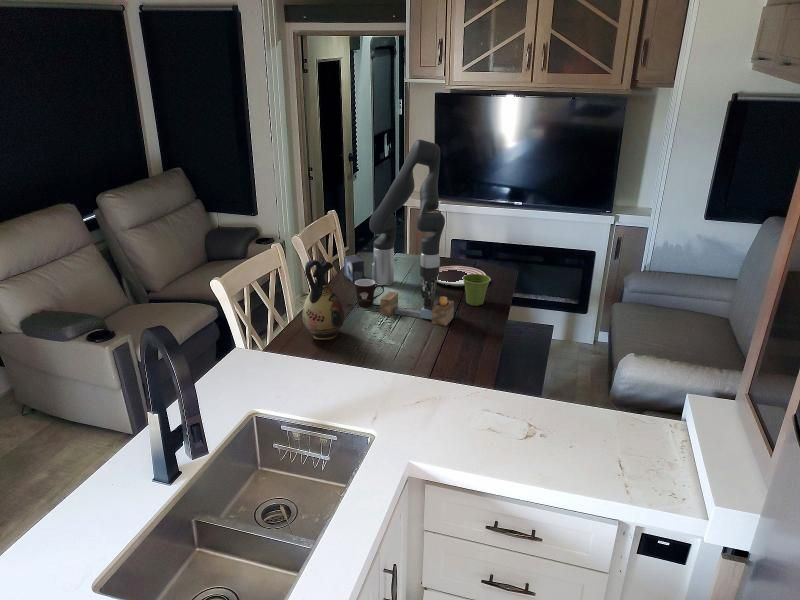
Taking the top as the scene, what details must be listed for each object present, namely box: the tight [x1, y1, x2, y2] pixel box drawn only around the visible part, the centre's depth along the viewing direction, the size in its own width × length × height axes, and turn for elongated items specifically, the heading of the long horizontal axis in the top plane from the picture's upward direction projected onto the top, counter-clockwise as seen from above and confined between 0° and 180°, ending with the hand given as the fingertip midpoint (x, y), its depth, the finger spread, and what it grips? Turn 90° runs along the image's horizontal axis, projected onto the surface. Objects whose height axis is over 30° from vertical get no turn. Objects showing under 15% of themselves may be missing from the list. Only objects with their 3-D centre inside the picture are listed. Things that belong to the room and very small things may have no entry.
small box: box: [343, 254, 365, 283], centre depth 277 cm, size 11×6×10 cm, turn 28°
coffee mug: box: [354, 278, 385, 308], centre depth 247 cm, size 12×9×10 cm
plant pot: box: [462, 274, 492, 307], centre depth 249 cm, size 12×12×11 cm
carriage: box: [420, 290, 435, 320], centre depth 234 cm, size 5×5×10 cm
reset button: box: [439, 296, 448, 306], centre depth 231 cm, size 3×3×4 cm
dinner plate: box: [437, 265, 487, 287], centre depth 278 cm, size 27×27×3 cm
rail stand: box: [380, 291, 455, 326], centre depth 237 cm, size 28×9×7 cm, turn 68°
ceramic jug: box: [302, 259, 345, 341], centre depth 215 cm, size 17×15×30 cm
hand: (428, 305), depth 234 cm, fingers closed on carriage, 3 cm apart
